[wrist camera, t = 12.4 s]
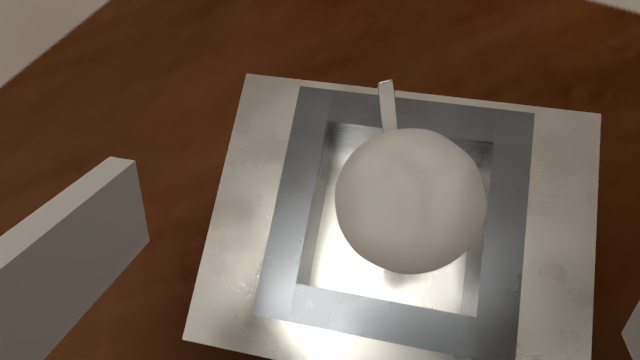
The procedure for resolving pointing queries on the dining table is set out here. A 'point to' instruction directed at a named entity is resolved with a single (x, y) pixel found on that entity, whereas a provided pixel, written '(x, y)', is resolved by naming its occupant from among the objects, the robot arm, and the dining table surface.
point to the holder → (377, 283)
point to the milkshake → (409, 197)
